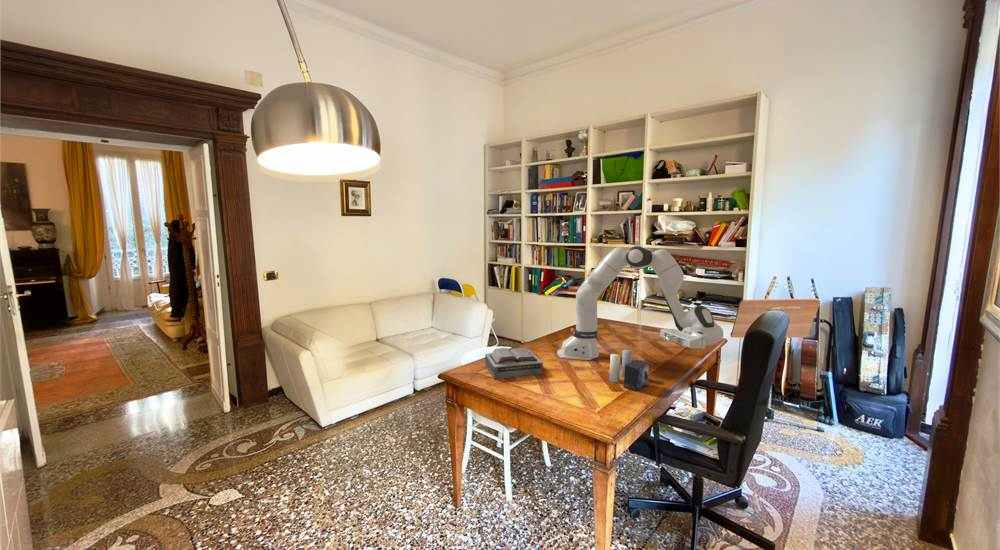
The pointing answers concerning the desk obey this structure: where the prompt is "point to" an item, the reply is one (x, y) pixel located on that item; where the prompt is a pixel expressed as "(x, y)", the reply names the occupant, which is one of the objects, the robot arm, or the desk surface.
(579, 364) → the desk surface
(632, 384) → the small box
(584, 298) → the robot arm
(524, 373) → the bible
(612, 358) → the cream post
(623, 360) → the slate post
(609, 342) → the desk surface
